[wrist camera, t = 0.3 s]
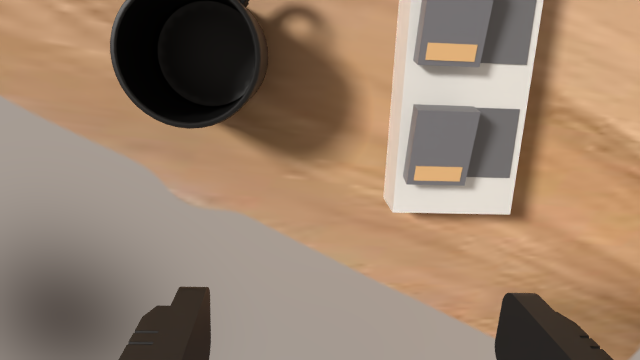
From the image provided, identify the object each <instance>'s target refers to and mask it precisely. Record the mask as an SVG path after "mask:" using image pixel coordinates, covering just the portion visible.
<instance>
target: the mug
mask: <svg viewBox="0 0 640 360" xmlns="http://www.w3.org/2000/svg"><path fill="white" fill-rule="evenodd" d="M248 1H249V0H126V1H125V2H124V3H123V5H122V6H121V8H120V10H119V12H118V13H117V16H116V18H115V21H114V24H113V27H112V32H111V39H110V53H111V59H112V64H113V68H114V71H115V74H116V77H117V79H118V81H119V83H120V85H121V87H122V88H123V90H124V91H125V93H126V94H127V96H128V97H129V98H130V99H131V100H132V102H133V103H134V104H135V105H136V106H137V107H138V108H140V109H141V110H142V111H143V112H144V113H146V114H147V115H149V116H151V117H152V118H154V119H156V120H158V121H160V122H162V123H165V124H167V125H171V126H175V127H180V128H203V127H208V126H212V125H215V124H217V123H220V122H222V121H224V120H226V119H228V118H229V117H231V116H232V115H234V114H235V113H236V112H237V111H238V110H239V109H241V108H242V107H243V106H244V105H245V104H246V102H247V101H248V100H249V99H250V98H251V97H252V96H253V95H254V94H255V93H256V92H257V90H258V89H259V87H260V86H261V84H262V82H263V79H264V77H265V74H266V70H267V65H268V49H267V43H266V39H265V36H264V34H263V31H262V29H261V27H260V25H259V23H258V22H257V20H256V19H255V18H254V16H253V15H252V14H251V13H250V12H249V11H248V10H247V9H246V7H247V5H248V4H249V3H248Z"/></svg>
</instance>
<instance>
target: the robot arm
mask: <svg viewBox="0 0 640 360" xmlns="http://www.w3.org/2000/svg"><path fill="white" fill-rule="evenodd" d="M210 331H211V326H210V290H209V288H208V287H179V289H178V291H177V293H176V295H175V297H174V300H173V302H172V304H171V306H156V307H155V308H153V309H152V310H151V311H150V312H148V313H147V314H146V315H144V316H143V317H142V319H141V320H140V322H139V324H138V326H137V328H136V330H135V333H133V335H132V337H131V338H130V340H129V344H128V345H127V346H126V348H125V349H124V351H123V353H122V355H121V356H120V358H119V360H209V355H210V344H211V332H210ZM495 353H496V359H497V360H613V359H612V358H611V357H610V356H609V355H608V354H607V353H606V352H605V351H604V350H603V349H600V346H599V345H598V344H597V343H596V342H595V341H594V340H593V339H592V338H589V336H588V335H587V334H586V333H585V332H584V331H583V330H582V329H581V328H580V327H579V326H578V325H577V324H576V323H575V322H573V321H571V320H570V319H568V318H566V317H565V316H563V315H561V314H560V313H558V312H555V311H554V310H553V309H552V308H551V307H550V306H549V305H548V304H547V303H546V302H545V301H544V300H543V299H542V298H541V297H540V296H539V295H537V294H535V293H507V294H506V295H505V296H504V298H503V301H502V306H501V312H500V317H499V323H498V328H497V334H496V339H495Z"/></svg>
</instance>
